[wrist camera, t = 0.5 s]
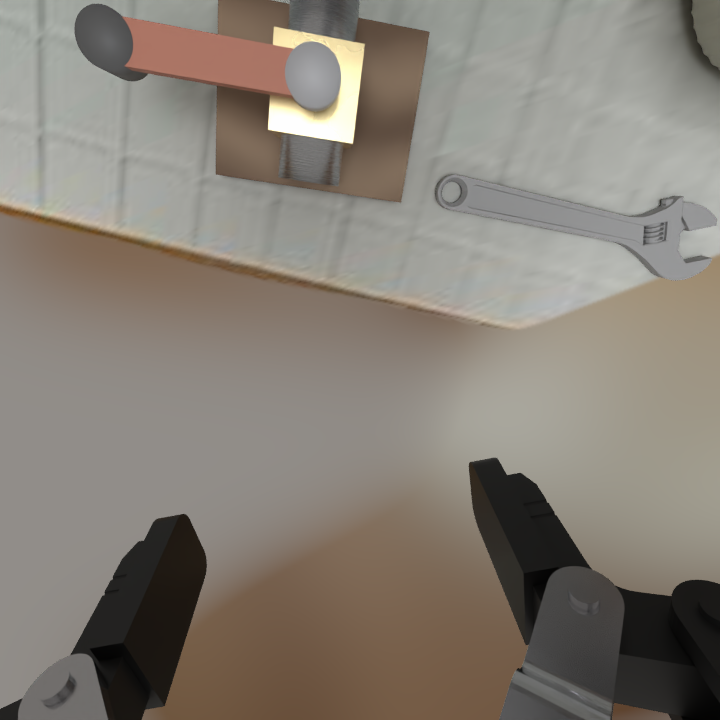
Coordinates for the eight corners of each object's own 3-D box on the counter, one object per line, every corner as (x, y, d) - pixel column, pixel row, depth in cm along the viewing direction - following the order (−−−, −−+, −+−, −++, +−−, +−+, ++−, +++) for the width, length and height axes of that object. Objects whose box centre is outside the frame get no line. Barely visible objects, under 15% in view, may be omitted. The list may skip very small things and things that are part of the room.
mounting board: (225, 1, 29) (218, -11, 28) (423, 40, 31) (429, 31, 29) (221, 174, 34) (215, 174, 32) (397, 201, 35) (400, 202, 33)
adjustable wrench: (428, 205, 36) (433, 206, 34) (455, 122, 34) (461, 119, 32) (680, 283, 40) (695, 287, 38) (719, 213, 38) (737, 214, 36)
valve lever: (99, 15, 22) (69, -6, 20) (342, 61, 24) (344, 47, 21) (103, 78, 23) (75, 66, 21) (336, 118, 25) (337, 111, 22)
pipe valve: (288, 13, 28) (273, -45, 21) (363, 27, 29) (374, -24, 22) (277, 176, 32) (262, 175, 25) (344, 186, 33) (348, 188, 25)
